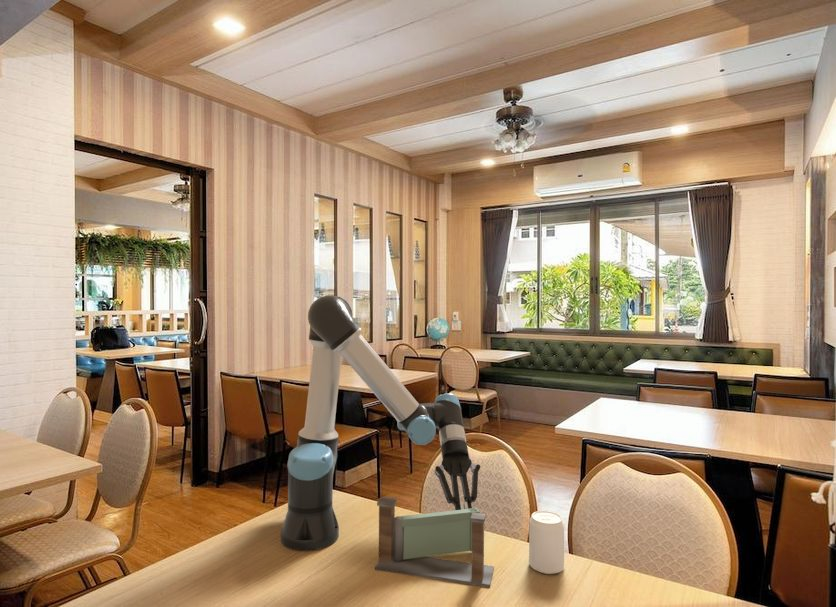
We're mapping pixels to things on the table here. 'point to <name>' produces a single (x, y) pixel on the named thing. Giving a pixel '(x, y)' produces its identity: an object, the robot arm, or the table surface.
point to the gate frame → (427, 565)
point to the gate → (433, 534)
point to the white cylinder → (546, 542)
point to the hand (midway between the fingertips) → (466, 529)
